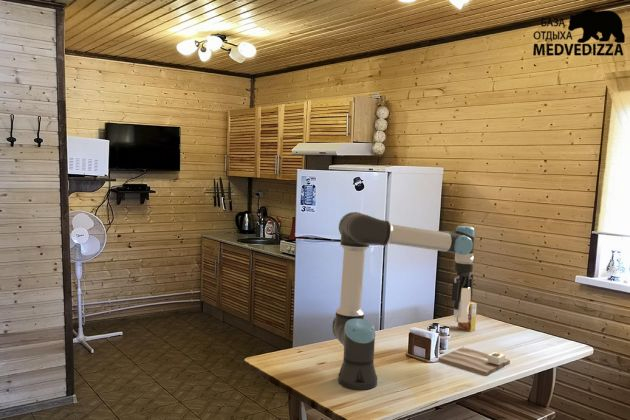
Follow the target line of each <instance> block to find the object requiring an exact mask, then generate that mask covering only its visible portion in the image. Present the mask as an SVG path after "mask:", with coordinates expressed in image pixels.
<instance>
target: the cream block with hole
mask: <svg viewBox="0 0 630 420" xmlns="http://www.w3.org/2000/svg"><path fill="white" fill-rule="evenodd" d="M488 354H489V355H488V361H487V362H490V363H493V364H497V365H500V364H501V363H503V362H505V359H506V354H503V353H500V352H495V351H494V352H491V353H488Z"/></svg>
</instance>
